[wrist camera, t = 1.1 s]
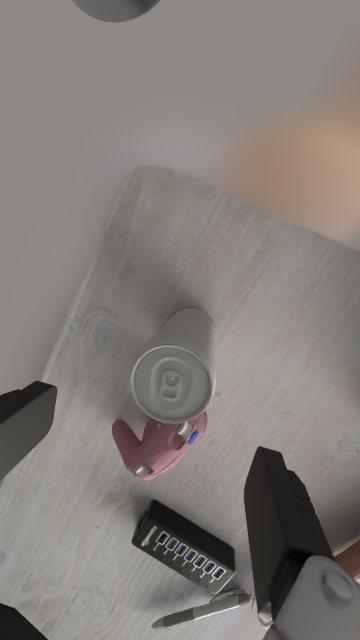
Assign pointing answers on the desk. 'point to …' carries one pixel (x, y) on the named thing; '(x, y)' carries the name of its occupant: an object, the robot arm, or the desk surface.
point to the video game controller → (156, 444)
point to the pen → (205, 609)
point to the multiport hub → (185, 547)
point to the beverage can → (177, 368)
